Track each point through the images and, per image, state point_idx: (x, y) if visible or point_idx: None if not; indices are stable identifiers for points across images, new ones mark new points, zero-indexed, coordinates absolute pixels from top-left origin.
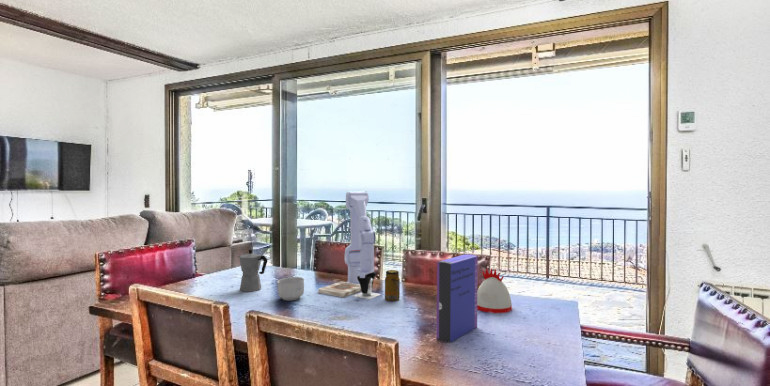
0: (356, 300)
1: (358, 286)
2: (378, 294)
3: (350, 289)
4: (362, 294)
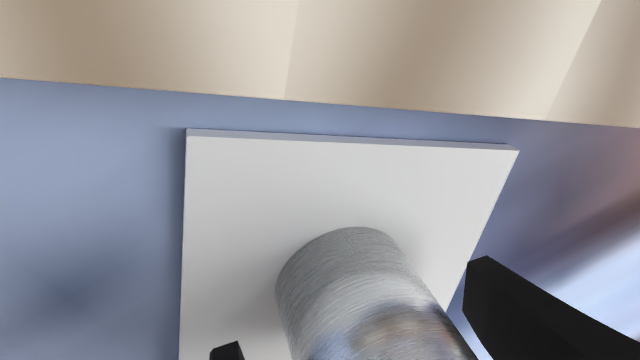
0: (41, 296)
1: (637, 49)
2: None
3: (388, 14)
4: (297, 264)
